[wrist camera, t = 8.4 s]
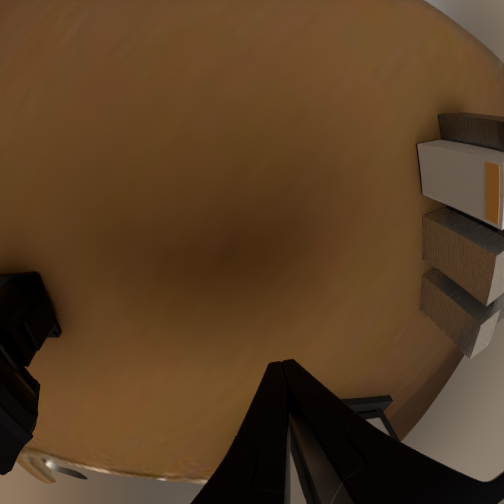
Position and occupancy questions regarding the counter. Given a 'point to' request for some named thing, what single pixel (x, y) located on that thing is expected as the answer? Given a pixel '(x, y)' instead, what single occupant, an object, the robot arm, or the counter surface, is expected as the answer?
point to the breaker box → (465, 252)
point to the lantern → (302, 485)
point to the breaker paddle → (464, 178)
